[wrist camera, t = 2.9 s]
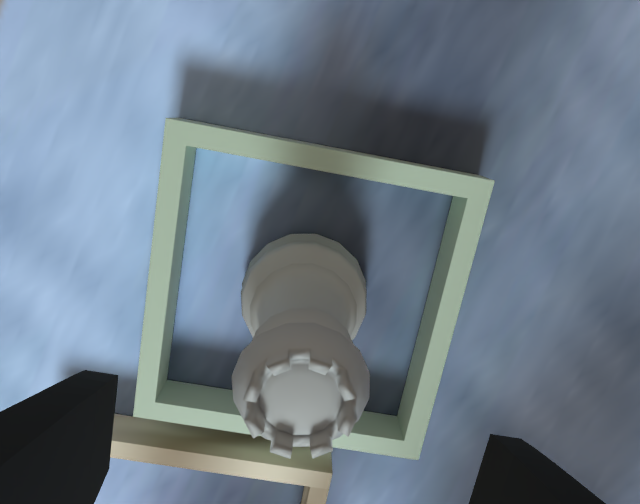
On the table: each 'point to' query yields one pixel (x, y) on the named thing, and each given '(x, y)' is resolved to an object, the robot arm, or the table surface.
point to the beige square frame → (219, 454)
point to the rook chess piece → (302, 345)
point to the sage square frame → (186, 135)
